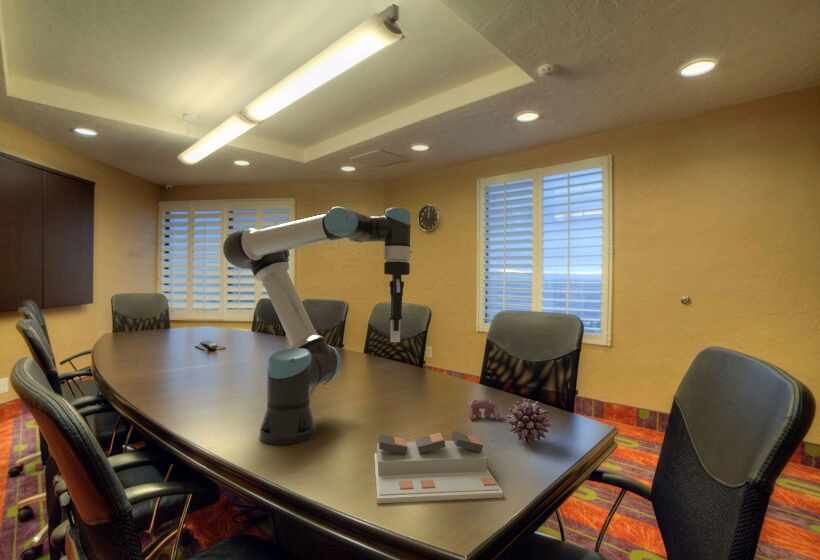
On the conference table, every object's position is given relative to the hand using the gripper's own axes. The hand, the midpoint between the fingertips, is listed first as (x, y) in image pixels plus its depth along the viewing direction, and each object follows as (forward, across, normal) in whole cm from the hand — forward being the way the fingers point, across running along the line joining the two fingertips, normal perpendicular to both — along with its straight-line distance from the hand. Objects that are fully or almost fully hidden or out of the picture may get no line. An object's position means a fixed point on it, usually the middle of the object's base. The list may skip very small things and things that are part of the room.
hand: (395, 341), depth 113 cm
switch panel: (+26, -26, -7) cm, 38 cm away
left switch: (+21, -22, +2) cm, 30 cm away
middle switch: (+21, -22, -7) cm, 31 cm away
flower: (+27, -10, -37) cm, 47 cm away
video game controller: (+27, +9, -30) cm, 41 cm away
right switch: (+21, -22, -16) cm, 34 cm away
